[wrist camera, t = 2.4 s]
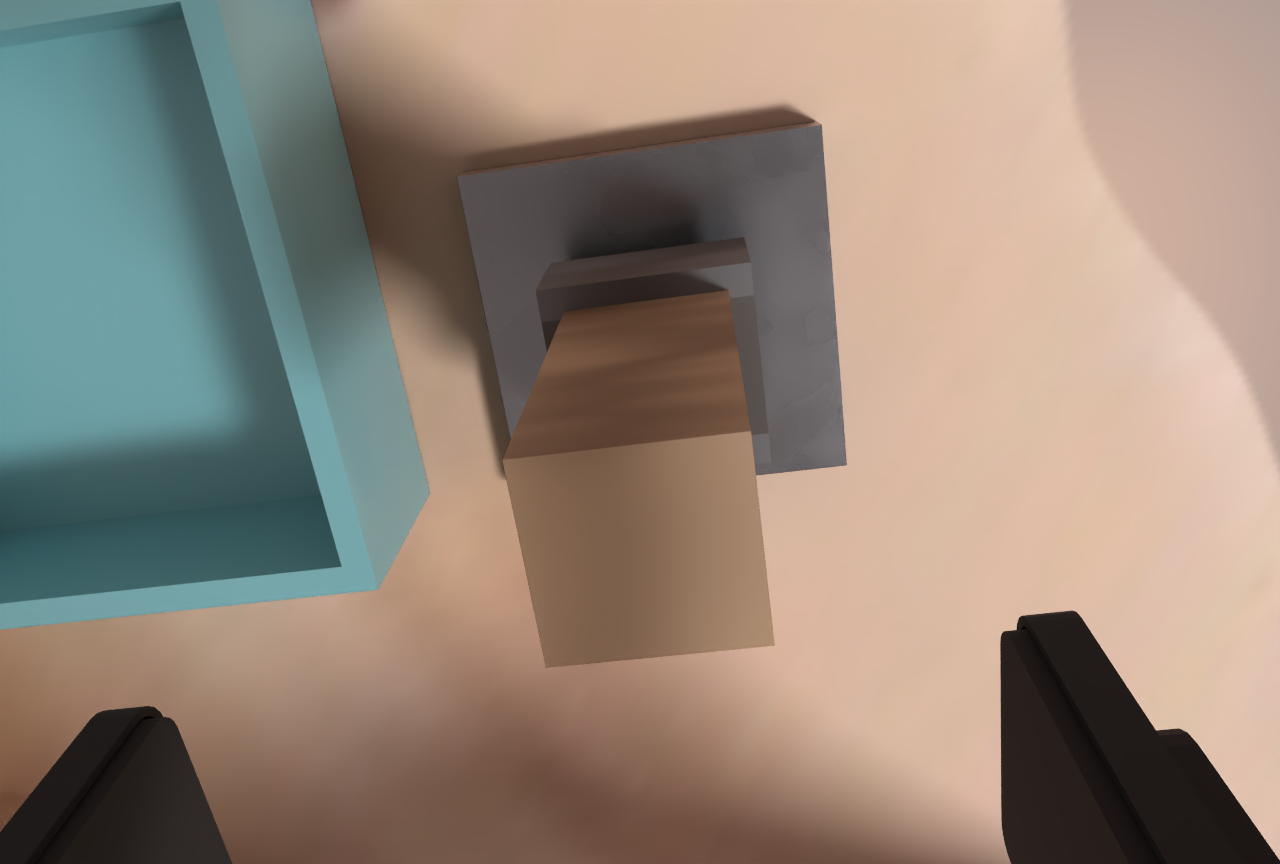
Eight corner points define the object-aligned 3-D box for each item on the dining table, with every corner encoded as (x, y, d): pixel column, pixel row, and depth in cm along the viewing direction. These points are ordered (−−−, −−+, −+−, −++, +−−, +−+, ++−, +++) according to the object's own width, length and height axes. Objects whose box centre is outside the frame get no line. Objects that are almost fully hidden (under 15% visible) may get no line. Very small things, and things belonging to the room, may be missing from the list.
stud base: (816, 121, 28) (846, 143, 23) (841, 452, 32) (871, 534, 27) (464, 172, 29) (416, 204, 24) (528, 487, 33) (498, 574, 28)
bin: (302, -32, 27) (204, -45, 22) (430, 493, 33) (377, 589, 27) (-231, 56, 28) (-452, 64, 23) (-20, 544, 34) (-156, 645, 29)
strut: (743, 237, 27) (785, 390, 16) (763, 419, 29) (812, 671, 18) (550, 262, 27) (458, 430, 16) (582, 440, 29) (518, 699, 18)
